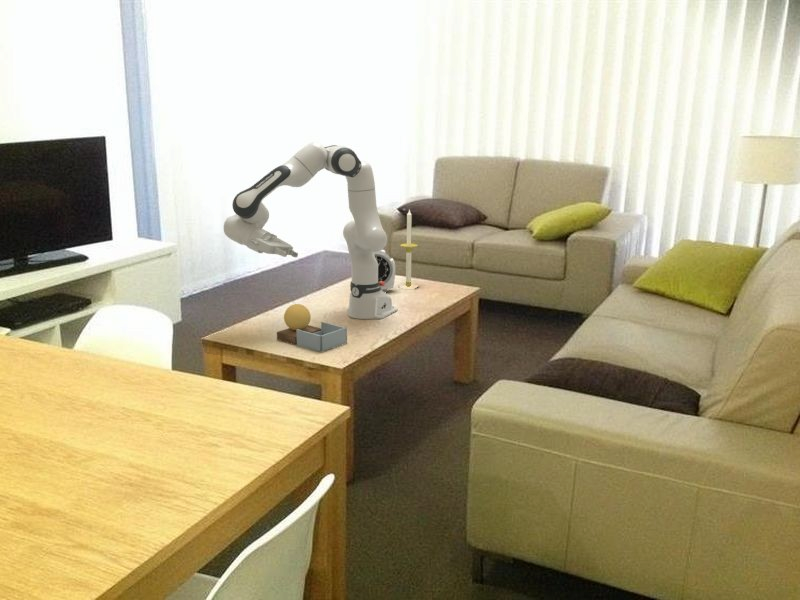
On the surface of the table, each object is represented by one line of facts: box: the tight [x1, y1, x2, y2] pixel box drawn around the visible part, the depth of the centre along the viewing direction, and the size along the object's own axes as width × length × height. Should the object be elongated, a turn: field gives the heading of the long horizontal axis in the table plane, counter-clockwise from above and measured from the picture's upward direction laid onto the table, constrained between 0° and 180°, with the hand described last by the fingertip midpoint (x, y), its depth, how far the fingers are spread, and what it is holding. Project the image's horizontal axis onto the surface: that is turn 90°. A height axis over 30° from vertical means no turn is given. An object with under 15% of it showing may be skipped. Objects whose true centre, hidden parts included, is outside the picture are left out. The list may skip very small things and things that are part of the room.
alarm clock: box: [374, 249, 396, 293], centre depth 373 cm, size 18×8×20 cm, turn 90°
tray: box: [296, 321, 348, 353], centre depth 298 cm, size 14×13×6 cm
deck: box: [276, 324, 321, 346], centre depth 305 cm, size 14×10×3 cm
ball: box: [283, 303, 311, 330], centre depth 304 cm, size 10×10×10 cm
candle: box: [399, 208, 419, 287], centre depth 380 cm, size 10×10×38 cm
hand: (291, 255), depth 302 cm, fingers open, 8 cm apart
